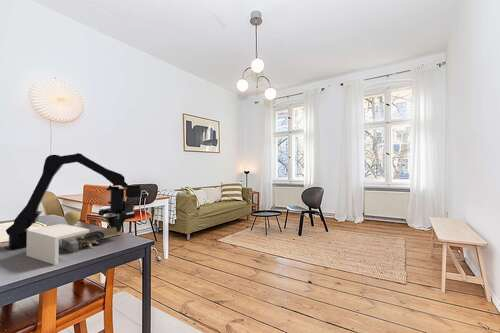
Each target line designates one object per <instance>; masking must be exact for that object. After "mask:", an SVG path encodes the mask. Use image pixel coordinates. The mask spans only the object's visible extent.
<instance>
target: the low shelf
mask: <svg viewBox="0 0 500 333" xmlns="http://www.w3.org/2000/svg"><path fill="white" fill-rule="evenodd" d="M86 233H90V229H89V228H83V227H80V226H79V227H78V226H77V227H75V226H70V225H68V224H67V223H66V224H65V223H57V224H52V225H48V226H41V227H37V228H32V229H27V247H26V252H25V253H26V256H27V257H30V258H32V259H35V260H39V261H42V262H45V263H48V264H51V265H54V266H55V265H56V266H57V265H58V264H59V248H60V247H59V245H60V244H59V243H60V242H59V241H60V240H62V239H64V238H68V237H73V236H77V235H81V234H86Z"/></svg>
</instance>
